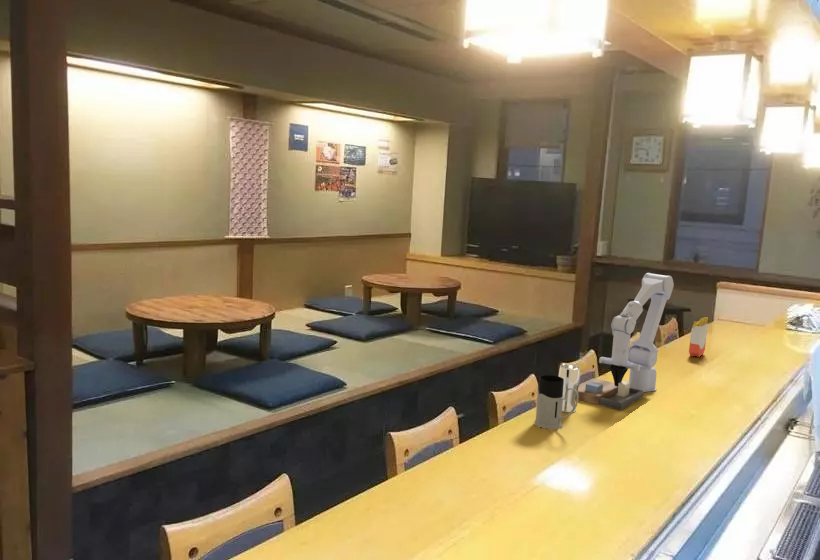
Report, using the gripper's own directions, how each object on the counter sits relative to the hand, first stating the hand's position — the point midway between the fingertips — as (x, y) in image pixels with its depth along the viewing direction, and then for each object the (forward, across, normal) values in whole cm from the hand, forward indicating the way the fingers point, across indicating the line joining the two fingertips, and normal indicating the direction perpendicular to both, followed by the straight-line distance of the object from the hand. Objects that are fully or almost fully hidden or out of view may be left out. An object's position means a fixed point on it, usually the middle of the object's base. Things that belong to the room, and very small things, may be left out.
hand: (617, 385), depth 248 cm
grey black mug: (+4, -1, -46) cm, 46 cm away
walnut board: (+4, -6, -4) cm, 8 cm away
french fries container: (+4, +2, +88) cm, 88 cm away
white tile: (+1, +1, 0) cm, 1 cm away
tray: (+4, +4, -4) cm, 7 cm away
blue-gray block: (+1, -4, -10) cm, 11 cm away
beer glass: (+4, -6, -28) cm, 29 cm away
